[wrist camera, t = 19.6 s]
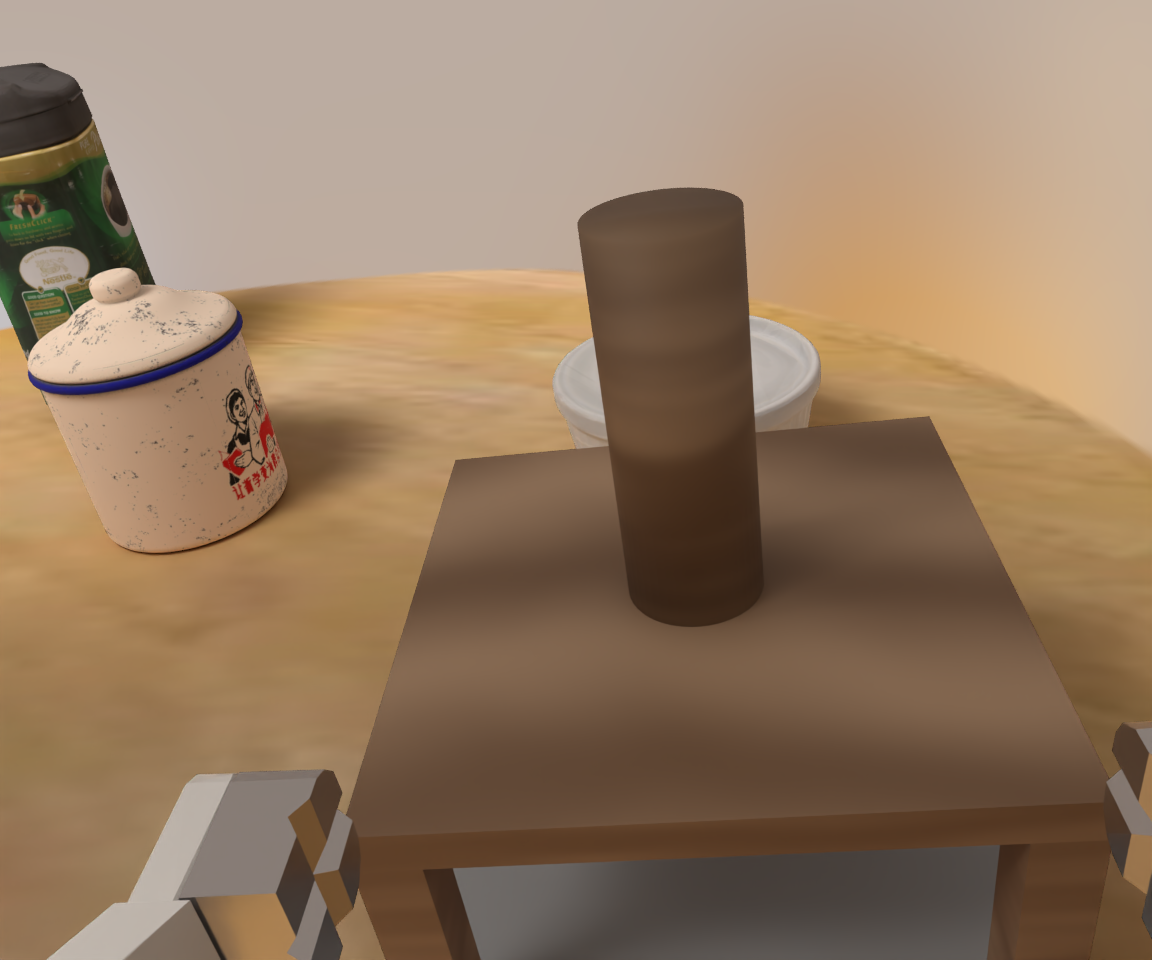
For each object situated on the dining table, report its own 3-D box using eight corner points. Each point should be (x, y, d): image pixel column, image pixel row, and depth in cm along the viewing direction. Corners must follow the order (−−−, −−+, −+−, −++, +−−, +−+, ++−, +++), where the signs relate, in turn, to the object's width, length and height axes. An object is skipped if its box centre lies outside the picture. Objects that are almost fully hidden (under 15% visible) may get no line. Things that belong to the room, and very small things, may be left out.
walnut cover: (1069, 1059, 22) (1217, 315, 13) (429, 1071, 23) (177, 420, 15) (919, 630, 34) (943, 90, 25) (501, 658, 35) (387, 163, 27)
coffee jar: (66, 369, 67) (-64, 71, 58) (188, 342, 68) (81, 46, 59) (37, 433, 59) (-121, 99, 49) (176, 401, 60) (48, 69, 51)
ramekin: (876, 475, 43) (878, 362, 41) (653, 574, 40) (638, 458, 37) (724, 387, 52) (717, 290, 50) (529, 461, 49) (510, 361, 46)
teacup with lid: (291, 533, 46) (206, 287, 40) (84, 579, 45) (-34, 335, 39) (299, 416, 56) (234, 207, 50) (131, 452, 55) (43, 244, 49)
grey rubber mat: (1137, 1123, 21) (1143, 1103, 21) (391, 1133, 23) (383, 1115, 23) (944, 625, 35) (945, 606, 34) (484, 657, 37) (479, 640, 36)
